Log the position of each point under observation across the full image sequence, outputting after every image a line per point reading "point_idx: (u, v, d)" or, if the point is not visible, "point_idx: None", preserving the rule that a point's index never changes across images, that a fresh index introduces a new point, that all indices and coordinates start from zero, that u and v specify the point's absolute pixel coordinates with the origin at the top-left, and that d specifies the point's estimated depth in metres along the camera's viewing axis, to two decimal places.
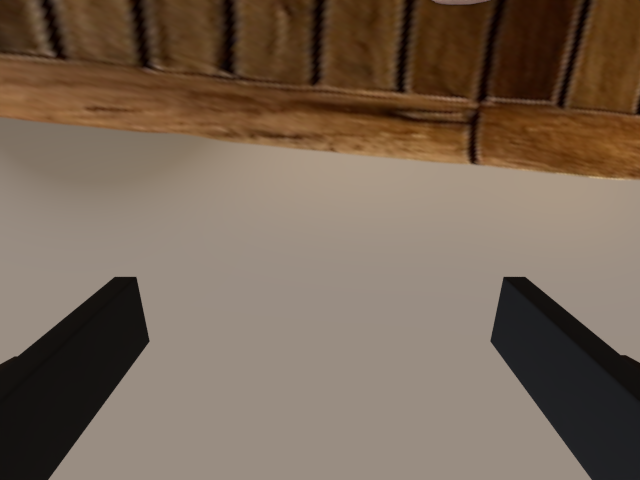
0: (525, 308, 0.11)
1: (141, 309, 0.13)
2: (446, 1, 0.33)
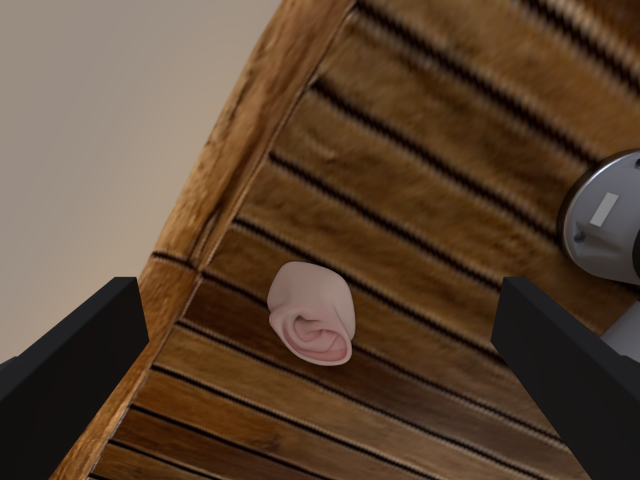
0: (525, 309, 0.11)
1: (141, 309, 0.13)
2: (279, 272, 0.43)
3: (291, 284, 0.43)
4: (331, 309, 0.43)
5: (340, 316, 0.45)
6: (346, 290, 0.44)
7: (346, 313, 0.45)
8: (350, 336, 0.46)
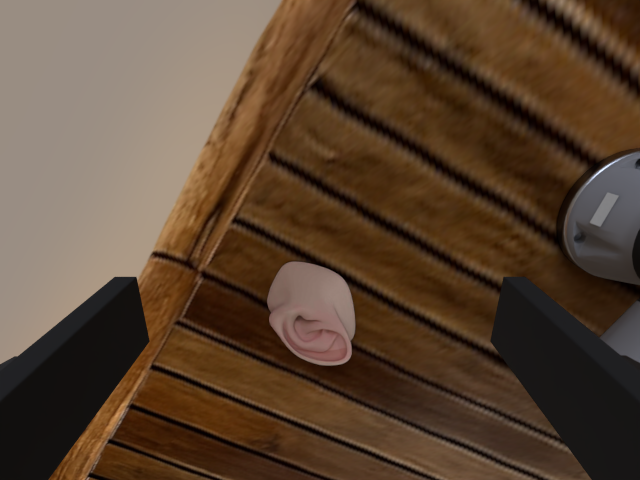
0: (525, 309, 0.11)
1: (141, 309, 0.13)
2: (279, 272, 0.43)
3: (291, 284, 0.43)
4: (331, 309, 0.43)
5: (340, 316, 0.45)
6: (346, 290, 0.44)
7: (346, 313, 0.45)
8: (350, 336, 0.46)
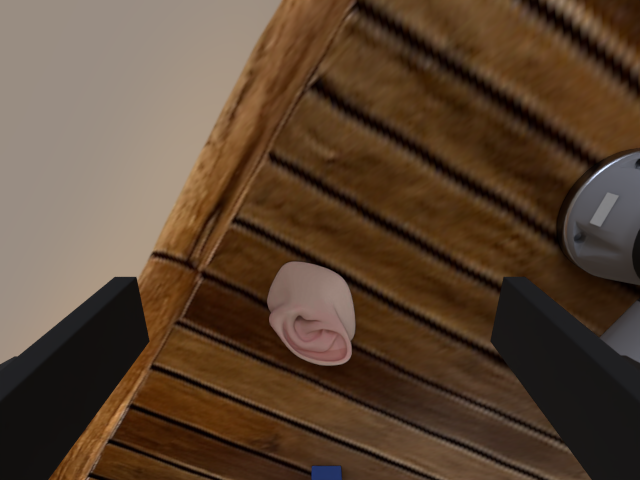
0: (525, 309, 0.11)
1: (141, 309, 0.13)
2: (279, 272, 0.43)
3: (291, 284, 0.43)
4: (331, 309, 0.43)
5: (340, 316, 0.45)
6: (346, 290, 0.44)
7: (346, 313, 0.45)
8: (350, 336, 0.46)
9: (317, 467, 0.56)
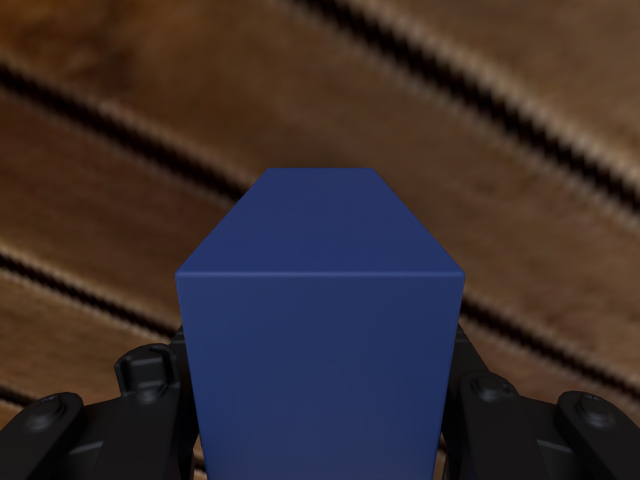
0: None
1: None
2: None
3: None
4: None
5: None
6: None
7: None
8: None
9: (287, 168, 0.15)
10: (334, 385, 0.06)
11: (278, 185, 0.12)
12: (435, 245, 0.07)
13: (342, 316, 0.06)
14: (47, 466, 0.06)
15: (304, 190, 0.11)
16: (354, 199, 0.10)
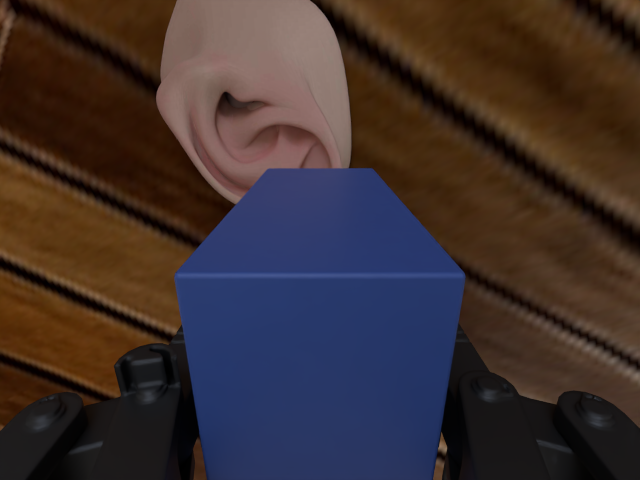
0: None
1: None
2: None
3: (206, 11, 0.18)
4: (297, 78, 0.19)
5: (319, 107, 0.20)
6: (333, 47, 0.20)
7: (333, 105, 0.21)
8: None
9: (286, 169, 0.15)
10: (334, 386, 0.06)
11: (278, 185, 0.12)
12: (435, 246, 0.07)
13: (342, 317, 0.06)
14: (47, 466, 0.06)
15: (304, 190, 0.11)
16: (354, 199, 0.10)
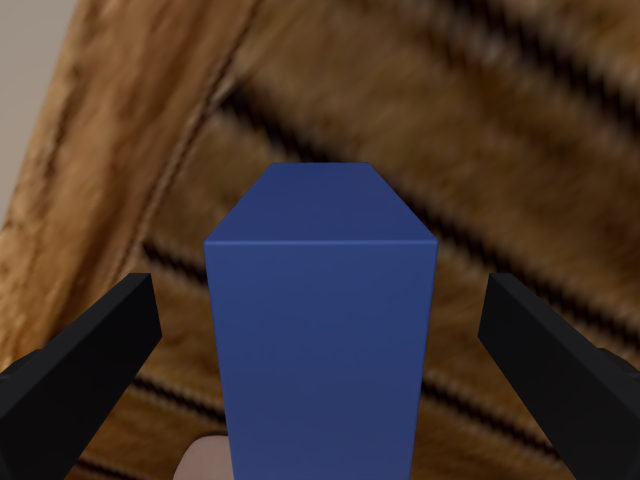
0: (508, 304, 0.11)
1: (155, 305, 0.13)
2: (187, 455, 0.23)
3: None
4: None
5: None
6: None
7: None
8: None
9: (289, 163, 0.16)
10: (332, 337, 0.08)
11: (282, 177, 0.13)
12: (417, 222, 0.08)
13: (339, 278, 0.07)
14: None
15: (306, 181, 0.12)
16: (351, 188, 0.11)
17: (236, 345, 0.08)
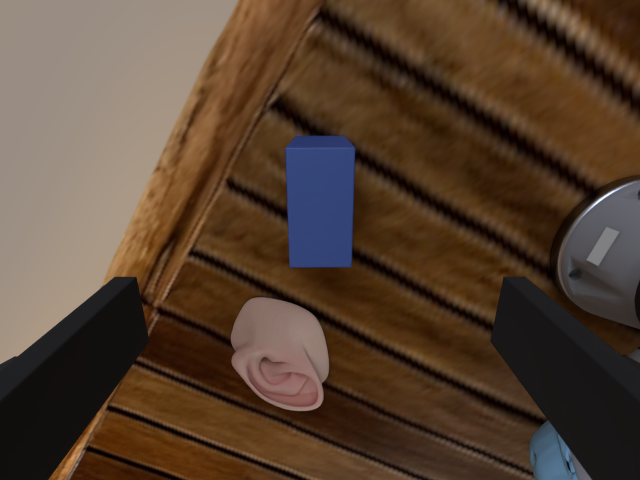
0: (524, 309, 0.11)
1: (141, 309, 0.13)
2: (243, 309, 0.39)
3: (255, 323, 0.39)
4: (299, 350, 0.39)
5: (311, 356, 0.40)
6: (317, 328, 0.40)
7: (318, 353, 0.41)
8: (323, 377, 0.42)
9: (304, 136, 0.33)
10: (324, 181, 0.24)
11: (303, 139, 0.30)
12: (351, 145, 0.24)
13: (325, 159, 0.24)
14: None
15: (314, 140, 0.29)
16: (332, 141, 0.28)
17: (293, 184, 0.24)
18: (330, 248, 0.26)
